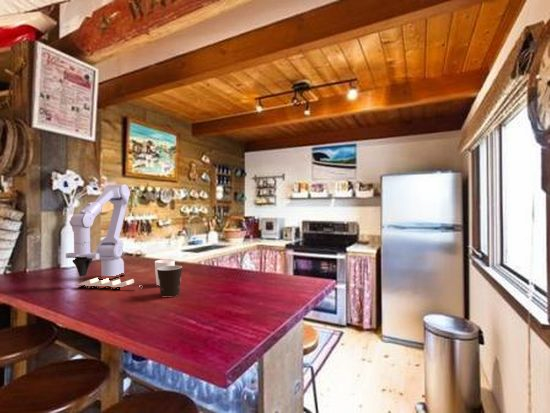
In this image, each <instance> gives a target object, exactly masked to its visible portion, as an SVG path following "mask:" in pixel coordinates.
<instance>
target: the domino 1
mask: <svg viewBox="0 0 550 413" xmlns="http://www.w3.org/2000/svg"><path fill="white" fill-rule="evenodd" d="M98 278H99V277H95V278H92V279H87V280H85V281H82V282H79V283H77V284H76V285H85V286H84V287H87V286H86V285H88V284H91V283H94V282H97V281H100V280H99V279H98Z"/></svg>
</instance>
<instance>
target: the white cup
mask: <svg viewBox="0 0 550 413" xmlns="http://www.w3.org/2000/svg"><path fill="white" fill-rule="evenodd" d="M175 262H176V260H175V259H172V258H171V259H167V258H166V259H158V260H155V261H154V270H155V283H156V286H157V285H159V279H158V272H157V268H160V267H164V266H176V264H175Z"/></svg>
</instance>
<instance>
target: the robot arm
mask: <svg viewBox="0 0 550 413" xmlns="http://www.w3.org/2000/svg"><path fill="white" fill-rule="evenodd" d="M130 195H131V191H130V188H129V186H128V185H127V184H114V185H113V184H107V185H106V186H105V187H103V188H102V192H101V194H100V195H98V197H97V198H96V199H95V201H91V202H87V204H86V205H85V206H84V208H83V209H81V210H80V211H79V212H78V213H75V214H73V215H72V216H71V218H70V220H69V225H70V227H71V230H72V232H73V252H67V253H65V259H72V263H73V264H74V265H75V267H76V269H77V272H78V275H79V277H85V276H87V273H88V270H89V266H90V264H91V262H92V261H93V259H95V260H96V259H99V260H100V266H101V268H100V269H101V272H100V273H101V277H102V276H116V275H119V274H121V273H124V274H125V261H124V260H123V258H122V255H123V253H124V248H123V247H124V243H123V241H122V240H121V239H120V237H121V233H122V232H121V231H122V227H123V223H124V219H125V215H126V212H127V207H128V203H129V199H130ZM107 202H110V203H111V205H113V210H112V213H111V217H110V221H109V225H108V229H107V233H106V237H104V238H103V239H102V240H100V242H99V245H98V246H97V248H96V252H91V227H92V226H93V225H94V221H95V219H96V217H97V216H98V215H99V214H100V213H101V212H102V207H103V206H104V205H105V204H107Z"/></svg>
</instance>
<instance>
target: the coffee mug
mask: <svg viewBox="0 0 550 413" xmlns="http://www.w3.org/2000/svg"><path fill="white" fill-rule="evenodd" d="M182 270H183V266H182V265H175V266H164V267H160V268H157V272H158V279H159V286H160V287H159V291H160V292H159V293H160V297H161V296H176V295H178V294H179V293H181V292H180V291H181V282H182V272H183V271H182ZM179 295H180V294H179ZM179 295H178V296H179ZM176 297H177V296H176Z"/></svg>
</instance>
